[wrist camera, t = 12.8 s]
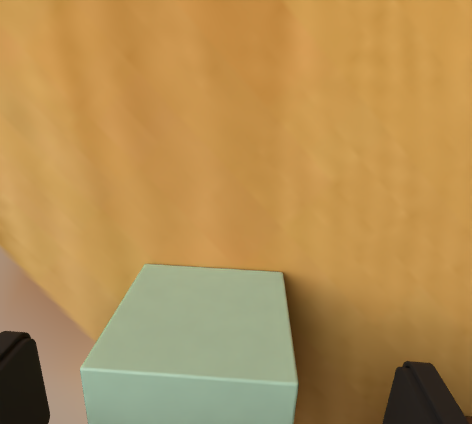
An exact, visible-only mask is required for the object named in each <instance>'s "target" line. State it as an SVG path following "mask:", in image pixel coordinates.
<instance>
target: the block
mask: <svg viewBox="0 0 472 424" xmlns="http://www.w3.org/2000/svg"><path fill="white" fill-rule="evenodd" d="M80 372H81V379H82V386H83V393H84V400H85V406H86V413H87V419H88V424H294V417H295V409H296V402H297V394H298V386H299V383H298V376H297V369H296V362H295V355H294V347H293V340H292V333H291V326H290V319H289V312H288V305H287V298H286V291H285V283H284V276H283V273H282V272H271V271H254V270H238V269H222V268H205V267H189V266H172V265H156V264H145V265H144V266H143V268H142V269H141V271H140V273H139V274H138V276H137V277H136V279H135V281H134V282H133V284H132V285H131V287H130V289H129V290H128V292H127V294H126V295H125V297H124V298H123V300H122V302H121V303H120V305H119V306H118V308H117V310H116V311H115V313H114V314H113V316H112V318H111V319H110V321H109V323H108V324H107V326H106V327H105V329H104V331H103V332H102V334H101V335H100V337H99V339H98V340H97V342H96V344H95V345H94V347H93V348H92V350H91V352H90V353H89V355H88V357H87V358H86V360H85V361H84V363H83V365H82V366H81V368H80Z"/></svg>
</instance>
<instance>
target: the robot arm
mask: <svg viewBox="0 0 472 424" xmlns="http://www.w3.org/2000/svg"><path fill="white" fill-rule="evenodd" d="M49 419H50V411H49V406H48V401H47V396H46V391H45V386H44V381H43V376H42V371H41V366H40V361H39V356H38V351H37V346H36V342H35V341H34V340H33V339H31V337H30V335H29V334H28V333H25V332H11V331H4V332H1V333H0V424H48V423H49ZM382 424H469V422H468V421H467V419H466V417H465V416H464V414H463V413H462V411H461V409H460V408H459V406H458V404H457V403H456V401H455V400H454V398H453V396H452V395H451V393H450V391H449V390H448V388H447V387H446V385H445V383H444V382H443V380H442V378H441V377H440V375H439V374H438V372H437V370H436V369H435V367H434V366H433V365H432V364H431V363H423V362H410V361H406V362H405V363H404V364H403V367H398V368H397V369H396V372H395V376H394V380H393V384H392V388H391V391H390V395H389V399H388V403H387V407H386V411H385V415H384V419H383V423H382Z"/></svg>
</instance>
